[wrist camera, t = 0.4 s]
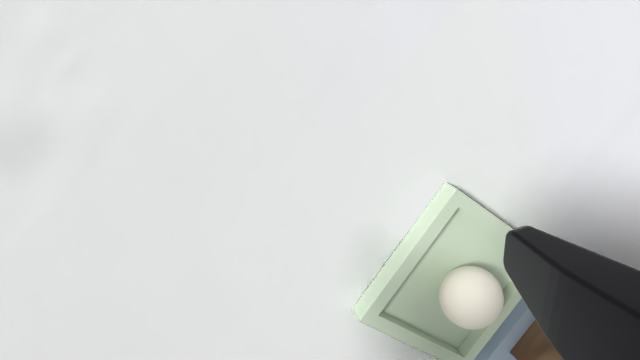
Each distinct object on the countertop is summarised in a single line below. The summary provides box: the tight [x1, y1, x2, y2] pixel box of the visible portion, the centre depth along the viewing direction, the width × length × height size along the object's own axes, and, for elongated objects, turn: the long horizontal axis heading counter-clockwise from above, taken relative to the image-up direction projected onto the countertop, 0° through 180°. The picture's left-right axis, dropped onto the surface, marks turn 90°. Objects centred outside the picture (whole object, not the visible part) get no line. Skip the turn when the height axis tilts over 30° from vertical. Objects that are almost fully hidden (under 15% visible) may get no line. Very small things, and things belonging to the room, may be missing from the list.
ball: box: [439, 266, 504, 330], centre depth 27 cm, size 4×4×4 cm
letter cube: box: [510, 320, 563, 360], centre depth 31 cm, size 4×4×5 cm
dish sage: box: [352, 181, 522, 360], centre depth 28 cm, size 9×9×1 cm
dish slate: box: [474, 298, 535, 360], centre depth 33 cm, size 9×9×1 cm
